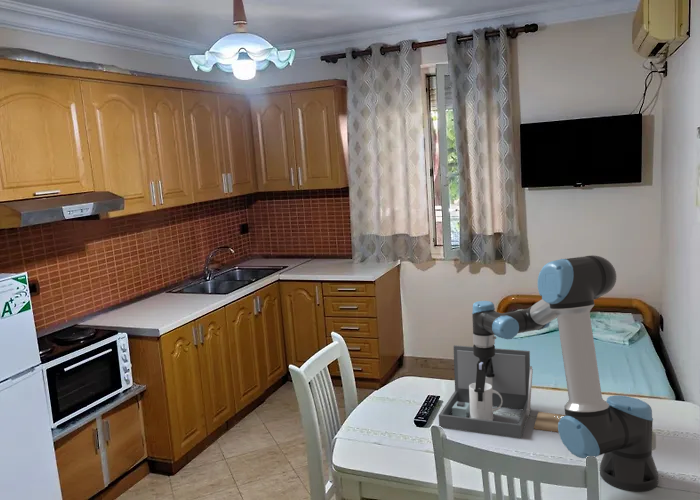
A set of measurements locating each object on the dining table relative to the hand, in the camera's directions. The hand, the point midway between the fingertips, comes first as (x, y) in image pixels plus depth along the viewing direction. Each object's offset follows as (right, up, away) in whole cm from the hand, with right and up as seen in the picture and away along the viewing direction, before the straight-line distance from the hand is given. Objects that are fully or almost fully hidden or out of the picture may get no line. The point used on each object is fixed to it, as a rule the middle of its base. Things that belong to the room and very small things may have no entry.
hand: (485, 401), depth 209 cm
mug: (+1, -6, +1) cm, 7 cm away
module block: (-8, -6, +4) cm, 11 cm away
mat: (+24, -6, -7) cm, 25 cm away
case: (0, -6, +1) cm, 6 cm away
